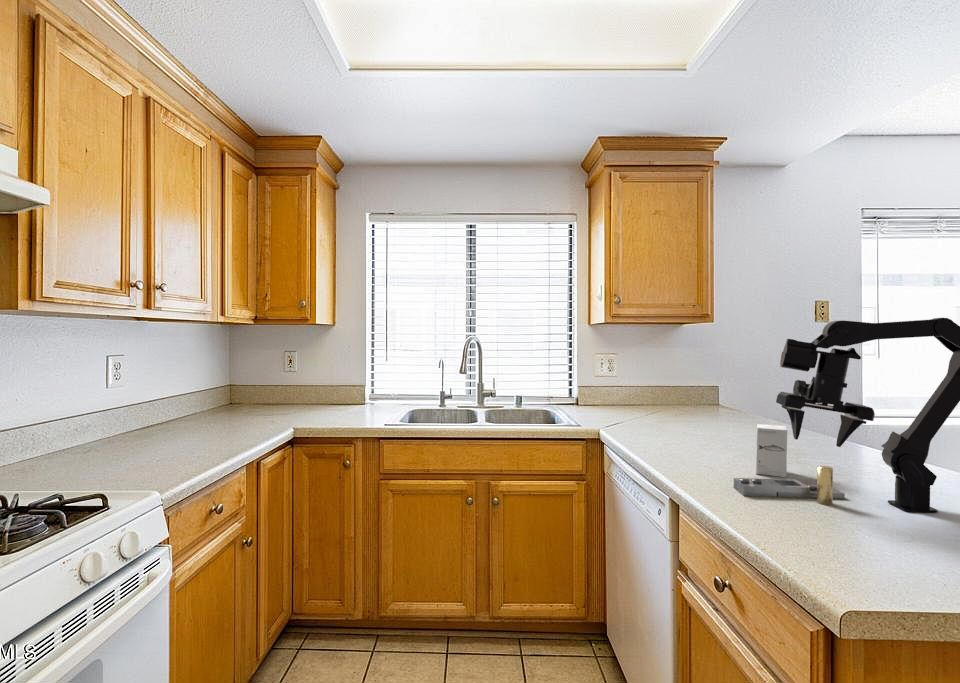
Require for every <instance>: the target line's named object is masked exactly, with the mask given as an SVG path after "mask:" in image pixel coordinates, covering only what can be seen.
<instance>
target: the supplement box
mask: <svg viewBox="0 0 960 683" xmlns="http://www.w3.org/2000/svg"><path fill="white" fill-rule="evenodd" d="M755 439H756V446H755V448H756V449H755V473H756V475H764V476H771V477H772V476H773V477H780V476H781V478H787V476H788V475H787V472H788V471H787V468H788V467H787V464H788V463H787V462H788V461H787V460H788V459H787V454H788V426H787V425H775V424H762V423H761V424H760V423H757V424H756V438H755Z"/></svg>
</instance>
